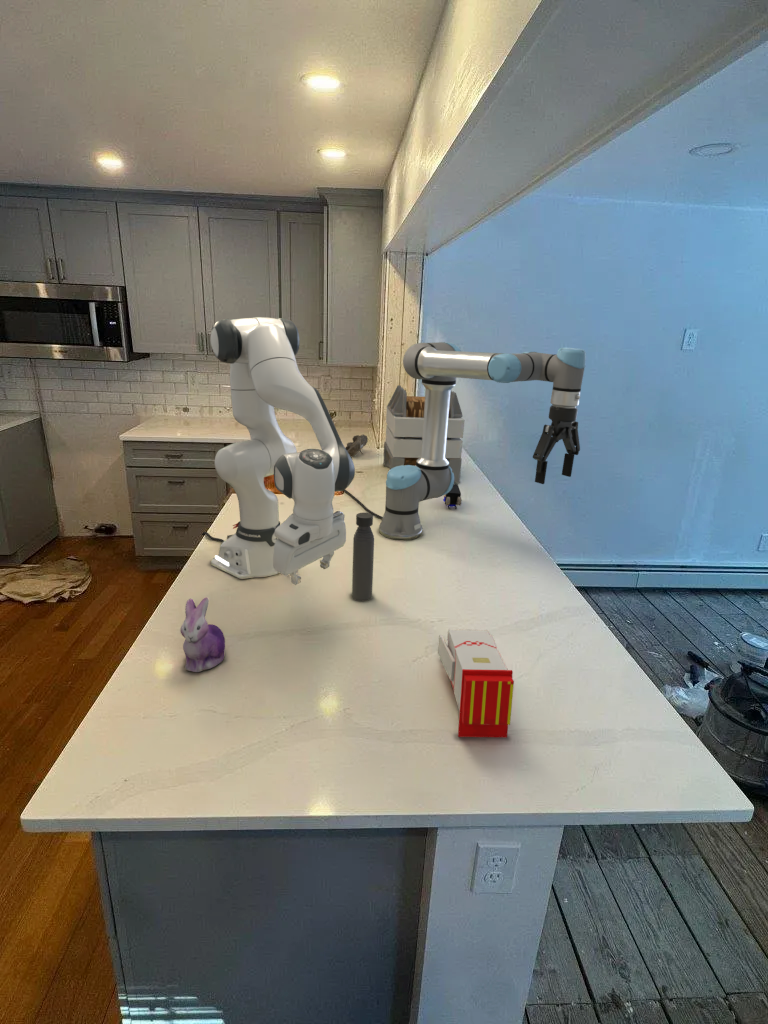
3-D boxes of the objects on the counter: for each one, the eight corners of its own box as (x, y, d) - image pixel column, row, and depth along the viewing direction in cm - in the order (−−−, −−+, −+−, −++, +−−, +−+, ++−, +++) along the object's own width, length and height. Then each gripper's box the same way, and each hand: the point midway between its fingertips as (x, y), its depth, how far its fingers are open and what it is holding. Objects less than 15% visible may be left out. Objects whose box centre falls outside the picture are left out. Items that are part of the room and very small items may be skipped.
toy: (488, 613, 130) (523, 677, 101) (484, 667, 133) (517, 744, 104) (435, 612, 130) (455, 676, 101) (432, 666, 133) (451, 743, 103)
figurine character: (461, 514, 225) (456, 498, 239) (463, 497, 222) (458, 482, 235) (444, 513, 225) (440, 498, 239) (446, 496, 222) (442, 481, 235)
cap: (354, 521, 150) (354, 513, 149) (370, 520, 151) (370, 512, 150) (358, 527, 146) (358, 518, 145) (374, 526, 147) (374, 517, 146)
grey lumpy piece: (343, 440, 315) (365, 425, 310) (354, 454, 317) (375, 439, 312) (337, 454, 295) (359, 438, 290) (348, 468, 298) (371, 453, 293)
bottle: (349, 592, 157) (351, 513, 149) (368, 590, 159) (371, 512, 151) (354, 602, 152) (357, 521, 144) (374, 600, 154) (377, 519, 146)
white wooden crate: (382, 463, 289) (386, 382, 275) (445, 464, 293) (451, 384, 279) (390, 482, 257) (394, 392, 243) (460, 483, 261) (468, 394, 247)
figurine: (186, 679, 118) (181, 616, 113) (179, 653, 127) (173, 593, 122) (232, 668, 122) (228, 607, 117) (221, 644, 131) (218, 585, 126)
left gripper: (334, 503, 134) (331, 553, 141) (268, 532, 120) (268, 586, 126) (354, 513, 131) (350, 563, 137) (289, 543, 116) (288, 598, 123)
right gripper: (549, 411, 147) (538, 489, 154) (599, 404, 163) (587, 475, 170) (526, 407, 152) (516, 482, 160) (576, 400, 168) (565, 469, 175)
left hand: (310, 574), depth 131 cm, fingers open, 8 cm apart
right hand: (553, 479), depth 165 cm, fingers open, 13 cm apart
